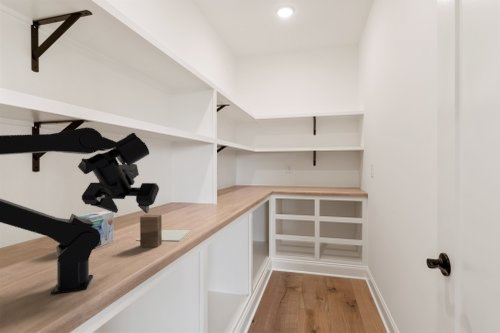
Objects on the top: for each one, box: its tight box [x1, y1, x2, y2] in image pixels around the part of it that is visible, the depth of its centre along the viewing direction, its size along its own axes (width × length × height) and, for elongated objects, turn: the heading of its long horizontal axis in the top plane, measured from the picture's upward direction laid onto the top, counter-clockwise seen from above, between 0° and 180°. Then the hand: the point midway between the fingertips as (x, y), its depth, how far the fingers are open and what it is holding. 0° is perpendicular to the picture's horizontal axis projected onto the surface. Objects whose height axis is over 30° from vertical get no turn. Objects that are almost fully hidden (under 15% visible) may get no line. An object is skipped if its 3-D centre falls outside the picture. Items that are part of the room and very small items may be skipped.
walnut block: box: [139, 214, 163, 248], centre depth 83 cm, size 3×6×10 cm, turn 87°
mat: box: [135, 229, 192, 242], centre depth 95 cm, size 14×16×1 cm
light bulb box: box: [77, 210, 115, 250], centre depth 84 cm, size 11×7×11 cm, turn 168°
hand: (132, 211), depth 72 cm, fingers open, 9 cm apart
